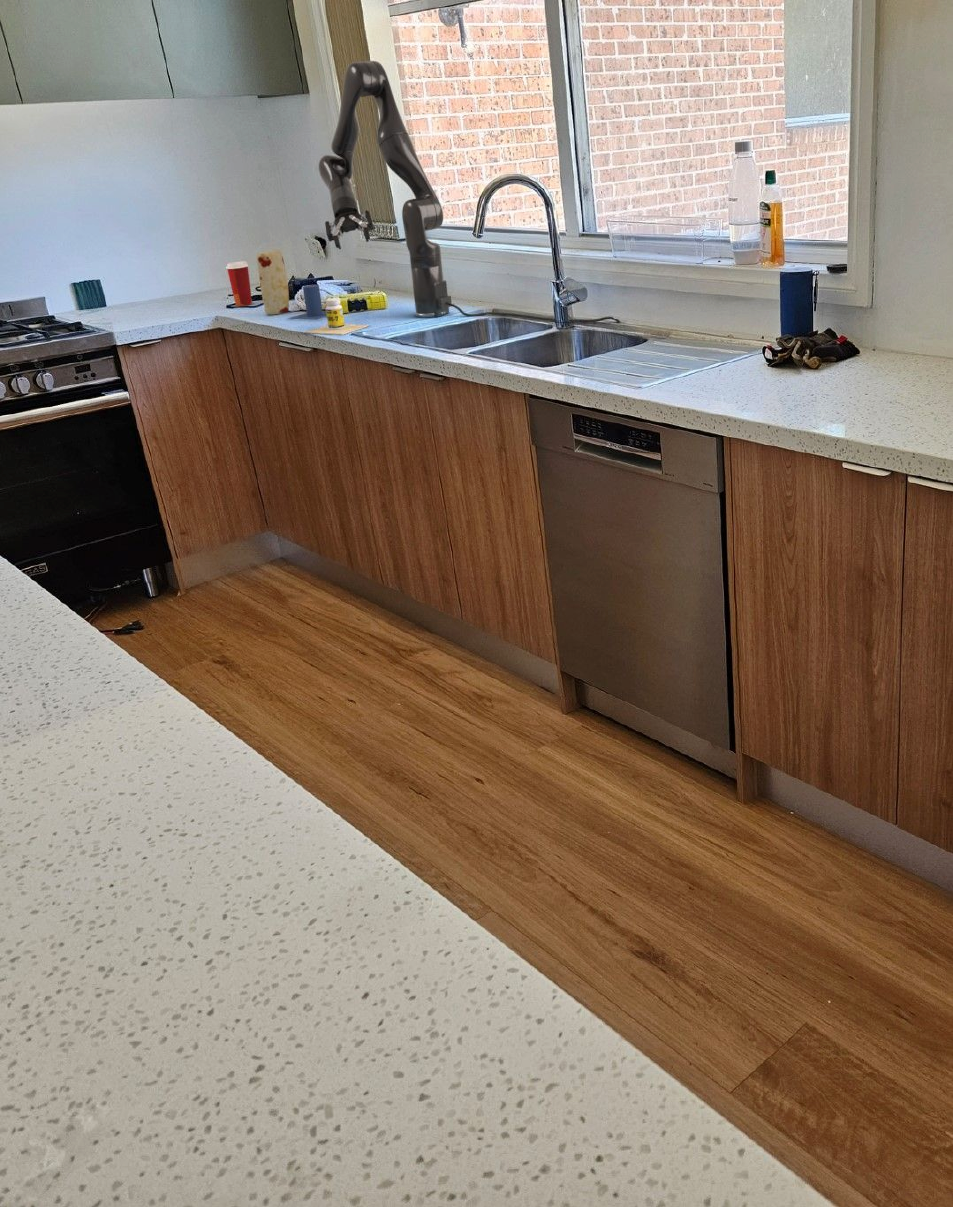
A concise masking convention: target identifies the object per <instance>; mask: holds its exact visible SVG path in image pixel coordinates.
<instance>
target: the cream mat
mask: <svg viewBox="0 0 953 1207" xmlns="http://www.w3.org/2000/svg"><path fill="white" fill-rule="evenodd" d="M344 326H345V327H344V328H343V329H339V330H330V329H329V328H328V324H327V325H323V326H321V327H317V328H313V329H310V330H308V331H305V333H306V334H316V335H317V334H318V335H320V334H321V335H338V336H343V335H346V334H349V333H352V332H355V331H358V330H361V329H364V328H367V327H369V324H354V323H353V324H351V323H344Z"/></svg>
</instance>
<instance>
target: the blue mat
mask: <svg viewBox="0 0 953 1207" xmlns="http://www.w3.org/2000/svg"><path fill="white" fill-rule="evenodd" d="M322 311H323V315H321V316H315V317H308V316H307V312H305V313H301V314H299V315H295V316H292V317H288V320H309V321H317V320H321V319H324V318H327V313H326V310H322Z"/></svg>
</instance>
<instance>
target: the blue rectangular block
mask: <svg viewBox="0 0 953 1207" xmlns="http://www.w3.org/2000/svg"><path fill="white" fill-rule="evenodd" d="M302 291H303V299H304V305H305V311H306V313H307V316H308V317H315V316H321V315H323V311H324V310H323V305H322V299H321V291H320V285H319V284H307V285H303V286H302Z"/></svg>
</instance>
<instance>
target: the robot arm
mask: <svg viewBox="0 0 953 1207" xmlns="http://www.w3.org/2000/svg"><path fill="white" fill-rule="evenodd" d="M345 70H346V71H345V74H344V79H343V86H342V92H341V98H340V99H341V100H340V106H339V107H340V108H339V116H338V120H337V125H336V128H335V132H334V134H333V136H332V137H333V138H332V141H331V146H330V147H331V148H330V149H331V151H332V153H333V154H335V155H330V154H325V155H322V157H321V158H320V160H319V161H318V172H319V176H320V177H321V179H322V182H323V183H324V185H325V186H326V187H327V189H328V190H329V196H330V204H331V208H332V212H333V213H332V214H333V217H334V221H332V222H330V221H329V220H327V221H325V222H324V226H325V233H326V237H327V239H328V242H332V241H334V245H335V248H336V249H338V250H341V249H342V246H341V242H340V239H341V238H342V237H343V236H344V234H345V233H349V232H353V231H356V230H357V231H360V232H363V234H364V238H365V242H366V243H369V241H370V240H371V236H370V231H374V230H375V226H374V223H373V219H372V216H371V213H370V211H369V210H365V211H364V213H362V214H361V213H360V212H359V208H358V203H357V202H358V201H357V200H356V196H355V194H354V191H353V186H352V182H351V179H352V178H353V174H354V172H353V171H354V164H353V162H354V161H353V160H354V154H355V149H356V146H357V143H358V140H359V136H360V123H359V119H358V116H357V112H356V110H357V106H358V102H359V100H360V99H361V98H367V97H372V98H373V100H374V102H375V104H376V106H377V109H378V113H379V120H378V127H377V135H376V137H377V138H376V139H377V144H378V147H379V151H380V152H381V155H382V157H383V159H384V162H385V164H386V165H387V167H388V168H389V169H390V170H391V171H392V172H393V173H394V174H395V175H396V176H397V177H399V178H400V179H401V180H402V181H403V182H404V183H405V184H406V185H407V186H408V188H409V189H410V190H411V192H412V193H413V195H414V197H415V198H412V199H411V198H410V199H408V200H406V201H405V202H404V203H403V205H402V208H401V209H402V210H401V219H402V225H403V231H404V238H405V245H406V248H407V250H408V252H409V254H408V255H409V262H410V270H411V271H410V273H411V280H412V288H413V289H412V290H413V298H414V299H413V301H414V306H415V307H414V309H415V317H417V318H433V317H434V318H438V317H442V316H445V315H447V314H450V307H453V308H454V309H456V310H458V311H459V312H460V314H461V315H462V316H465V317H481V316H488V315H492V316H494V315H495V316H496V315H497V316H508V317H509V316H510V317H520V318H524V319H525V318H526V319H533V320H540V321H541V320H542V321H549V322H550V321H551V322H557V321H556V319H557V318H556V319H555V318H554V317H545V316H536V315H529V314H521V313H513V312H499V311H487V312H480V313H467V312H465V311H464V310H462V309H461V307H459V306H458V305H457V304H454V303H452V296H451V295H448V286H447V285H448V284H447V280H444V272H443V263H442V262H443V261H442V254H441V253H442V251H441V245H440V244H439V243H437V242H433V241H430V240H429V239H428V238H427V233H426V232H427V231H432V230H436V229H439V228H441V226H442V225H443V222H444V212H443V208H442V204H441V202H440V200H439V198H438V196H437V194H436V193H435V190H434V188H433V187H432V185H431V183H430V181H429V180H428V177H427V175H426V172H425V171H424V169H423V166H422V165H421V162H420V159H419V158H418V156H417V152H416V150H415V148H414V145H413V142H412V140H411V137H410V135H409V133H408V130H407V128H406V126H405V124H404V122H403V119H402V116H401V113H400V111H399V108H398V105H397V103H396V100H395V97H394V93H393V90H392V86H391V83H390V80H389V77H388V74H387V72H386V69H385V68H384V66H383V65H382V63H380V62H379V61H376V60H363V61H362V60H361V61H353V62H351V63H350V64H348V66H347V68H346V69H345ZM362 220H364V221H365V222H367V224H366V223H364V222H363V221H362ZM334 228H335V229H334ZM333 230H334V231H333ZM332 232H333V233H332ZM613 317H614V316H604V317H599V318H593V319H591V318H589V319H587V318H585V319H584V318H583V319H581V318H580V319H579V318H576V319H575V318H570V319H571V320H569V321H570V322H569V323H597V322H602V321H604V320H605V321H606V320H612V321H615V322H616V323H618V324H622V322H621V320H620V319H619V318H617V319H614V318H613Z"/></svg>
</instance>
